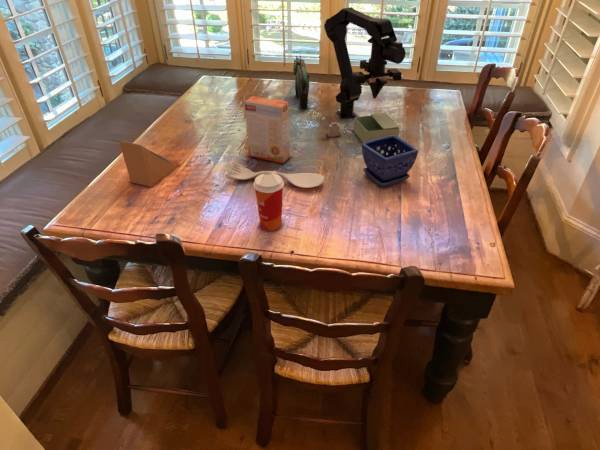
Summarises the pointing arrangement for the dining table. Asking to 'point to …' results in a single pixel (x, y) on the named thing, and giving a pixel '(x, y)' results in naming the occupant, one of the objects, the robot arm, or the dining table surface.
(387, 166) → the flower pot
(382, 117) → the flap
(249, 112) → the cracker box
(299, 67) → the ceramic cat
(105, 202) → the dining table surface
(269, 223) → the coffee cup
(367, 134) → the carton
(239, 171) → the spoon
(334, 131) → the lighter
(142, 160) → the sandwich container
